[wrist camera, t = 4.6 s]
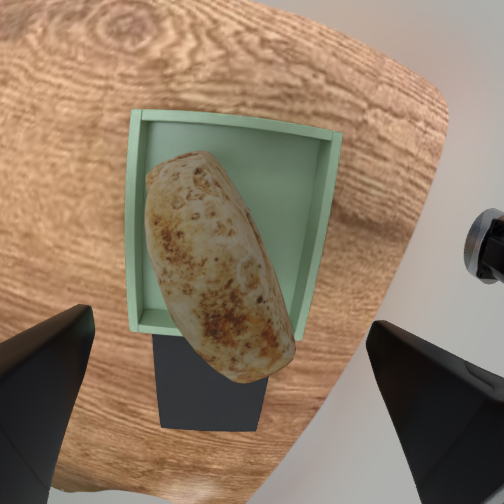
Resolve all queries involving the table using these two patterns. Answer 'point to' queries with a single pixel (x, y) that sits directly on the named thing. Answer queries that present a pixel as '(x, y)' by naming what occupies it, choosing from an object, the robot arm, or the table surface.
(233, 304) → the beige oval piece
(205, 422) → the mat
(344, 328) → the table surface
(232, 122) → the tray
